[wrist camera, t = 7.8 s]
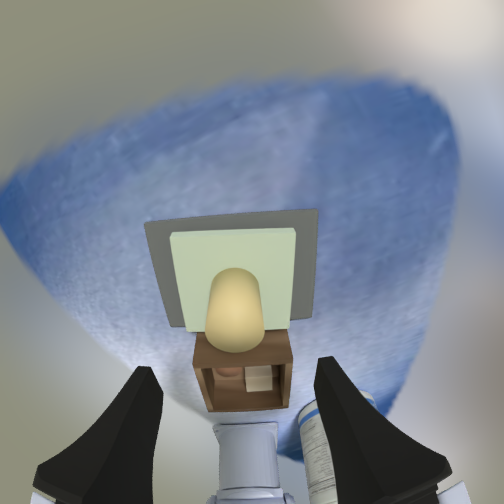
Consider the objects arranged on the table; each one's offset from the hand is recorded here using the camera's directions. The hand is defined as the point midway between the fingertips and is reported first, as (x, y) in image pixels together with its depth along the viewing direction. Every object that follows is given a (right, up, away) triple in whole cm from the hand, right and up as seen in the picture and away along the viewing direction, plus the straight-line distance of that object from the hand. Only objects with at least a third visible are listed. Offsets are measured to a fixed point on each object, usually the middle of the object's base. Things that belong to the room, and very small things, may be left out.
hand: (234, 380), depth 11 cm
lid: (0, +4, +8) cm, 9 cm away
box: (0, -3, +12) cm, 13 cm away
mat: (0, +4, +8) cm, 9 cm away
